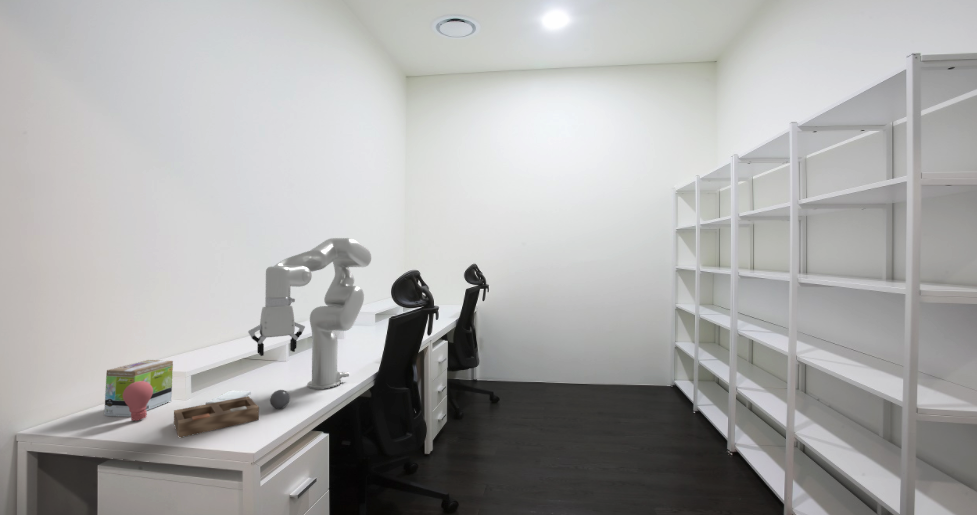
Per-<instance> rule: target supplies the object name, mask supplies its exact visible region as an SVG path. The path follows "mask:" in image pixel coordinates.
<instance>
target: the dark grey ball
mask: <svg viewBox="0 0 977 515" xmlns="http://www.w3.org/2000/svg"><path fill="white" fill-rule="evenodd" d="M290 399H291V396H290V393H289V392H288V391H287V390H285V389H278V390H275V391H274V392H273V393H271V396H270V399H269V402H270V403H269V404H270V405H271V406H272V408H275V409H282V408H285V407H286V406H287V405H288V404H289V403H290Z"/></svg>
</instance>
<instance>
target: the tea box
mask: <svg viewBox="0 0 977 515" xmlns="http://www.w3.org/2000/svg"><path fill="white" fill-rule="evenodd" d="M173 362H174V361H173V360H165V359H164V360H163V359H162V360H161V359H156V360H155V359H146V360H142V361H138V362H134V363H129V364H126V365H122V366H117V367H114V368H110V369H107V370H106V377H105V394H104V413H103V414H104V415H103V416H107V417H125V418H126V417H127V418H131V412H130V411H129V407H128V406H127V404H126V403H125V401H124V399H123V392H124V390H125V389H126V387H127V386H129V385H130V384H132V383H134V382H138V381H144V382H147V383H149V384H150V385H151V386H152V388H153V394H152V396H151V398H150V400H149V402H148V403H147V405H146V411H147V412H148V411H149V410H152V409H155V408H158V407H159V406H160V407H161V406H163V405H166V404H168V403H167V402H169V401H171V402H172V394H173V391H172V390H173V369H174V363H173ZM165 403H166V404H165ZM169 403H170V402H169ZM162 404H163V405H162ZM157 406H158V407H157Z"/></svg>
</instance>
